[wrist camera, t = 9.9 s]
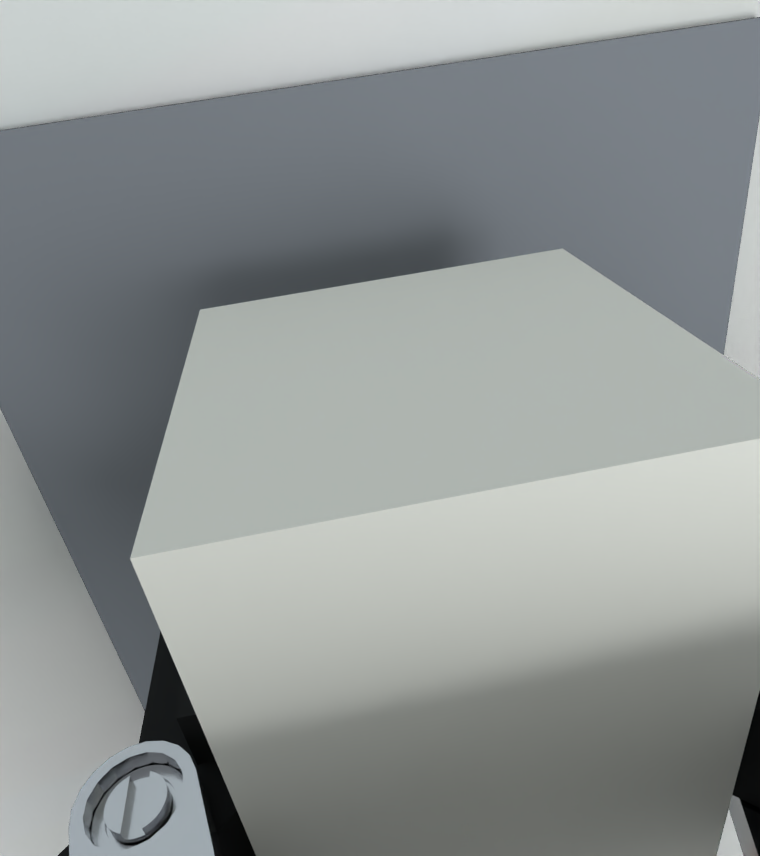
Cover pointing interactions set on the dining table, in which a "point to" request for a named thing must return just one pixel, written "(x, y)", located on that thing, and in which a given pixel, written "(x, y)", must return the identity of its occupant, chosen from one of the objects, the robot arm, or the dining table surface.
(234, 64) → the dining table surface
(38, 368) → the mat
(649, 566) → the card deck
